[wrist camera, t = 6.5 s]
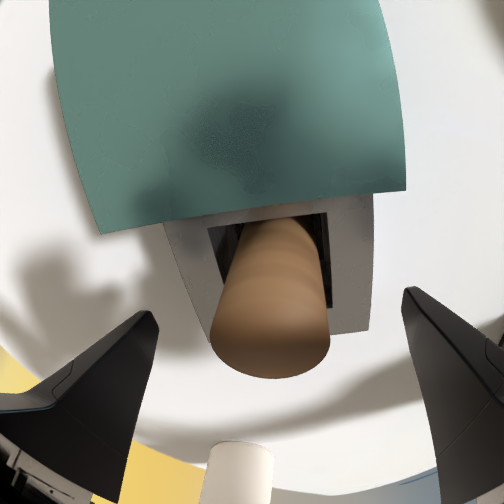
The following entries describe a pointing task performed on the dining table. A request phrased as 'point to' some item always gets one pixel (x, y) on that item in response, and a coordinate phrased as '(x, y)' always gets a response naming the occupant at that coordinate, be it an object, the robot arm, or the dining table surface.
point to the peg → (273, 302)
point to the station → (234, 128)
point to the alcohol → (238, 474)
